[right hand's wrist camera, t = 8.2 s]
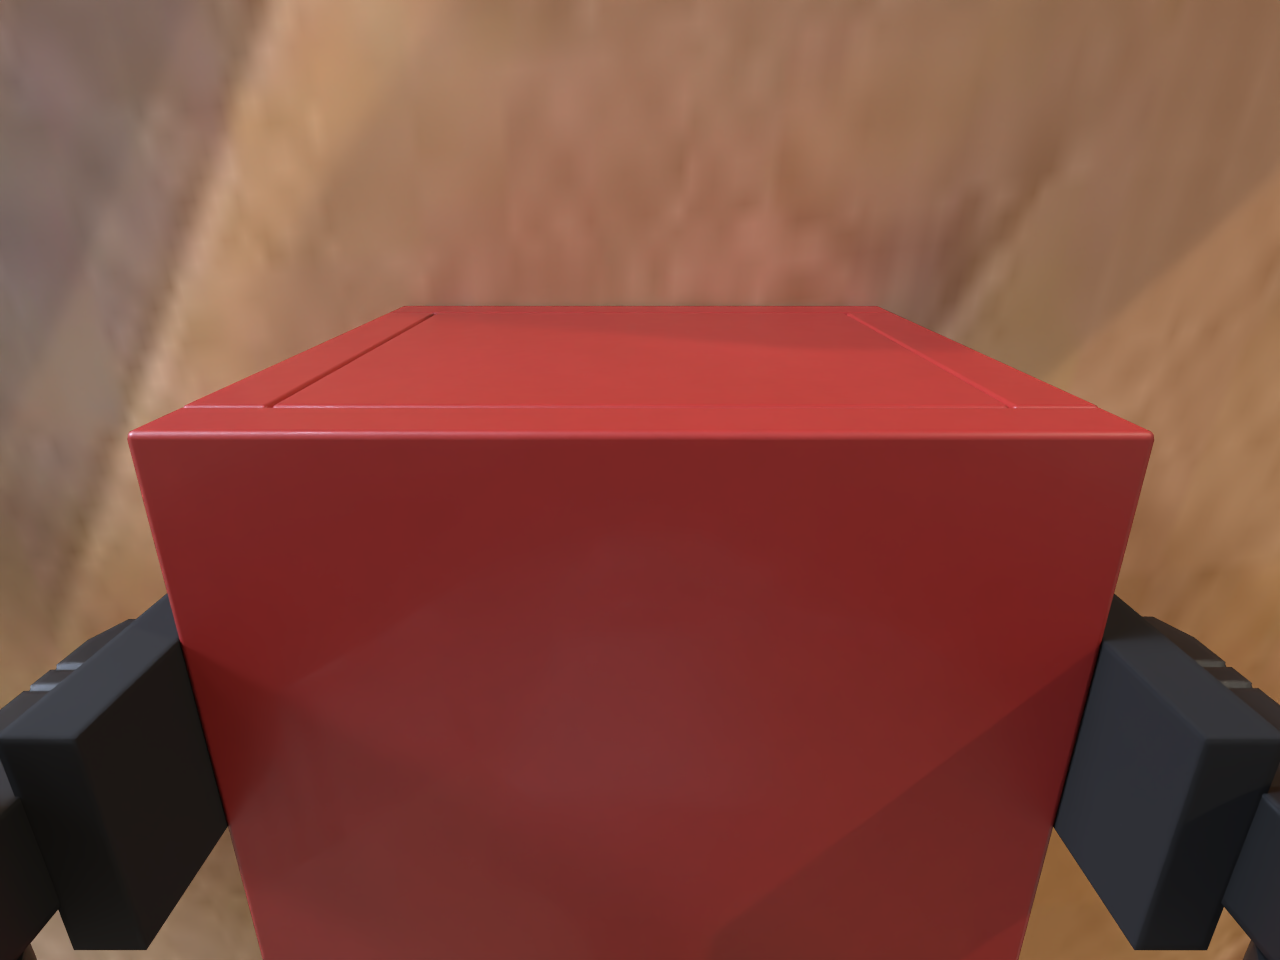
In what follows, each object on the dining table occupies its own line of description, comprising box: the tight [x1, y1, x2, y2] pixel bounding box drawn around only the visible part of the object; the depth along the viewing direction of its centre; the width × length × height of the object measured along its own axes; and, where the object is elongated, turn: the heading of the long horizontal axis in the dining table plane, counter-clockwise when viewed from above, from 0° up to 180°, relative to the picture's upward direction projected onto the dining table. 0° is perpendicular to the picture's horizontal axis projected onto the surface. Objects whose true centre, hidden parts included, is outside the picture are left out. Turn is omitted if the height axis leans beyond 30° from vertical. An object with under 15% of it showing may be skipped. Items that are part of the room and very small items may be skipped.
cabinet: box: [127, 306, 1154, 960], centre depth 14 cm, size 13×10×9 cm
